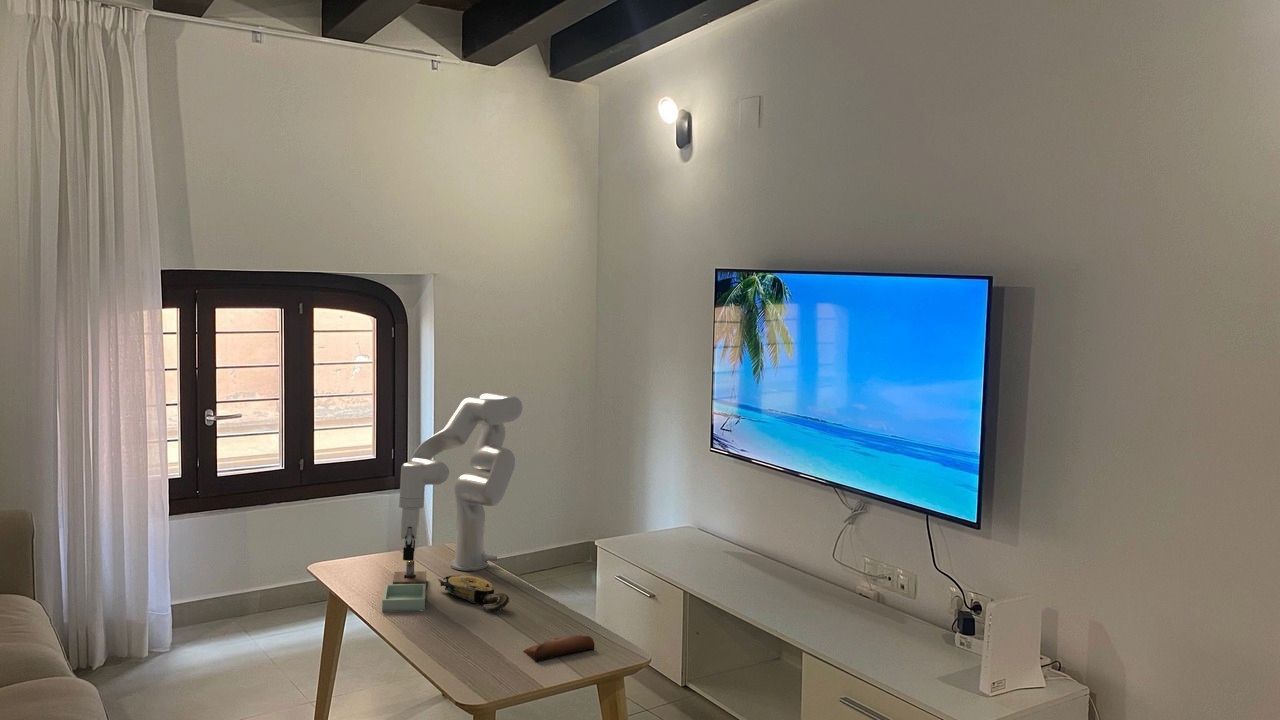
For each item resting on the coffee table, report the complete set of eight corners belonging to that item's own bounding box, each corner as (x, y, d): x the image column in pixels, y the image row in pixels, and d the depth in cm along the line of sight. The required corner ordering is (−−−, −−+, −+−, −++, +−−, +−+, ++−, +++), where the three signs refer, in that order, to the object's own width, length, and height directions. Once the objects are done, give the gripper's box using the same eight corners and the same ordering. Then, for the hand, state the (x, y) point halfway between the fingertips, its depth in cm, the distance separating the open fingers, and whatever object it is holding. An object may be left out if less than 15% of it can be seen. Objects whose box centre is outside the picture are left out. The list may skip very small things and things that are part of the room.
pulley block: (482, 597, 275) (437, 569, 299) (479, 616, 275) (433, 587, 298) (524, 596, 284) (476, 569, 307) (520, 615, 283) (473, 587, 307)
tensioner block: (426, 580, 307) (426, 571, 306) (425, 590, 297) (425, 581, 297) (394, 580, 304) (394, 571, 304) (392, 591, 295) (392, 581, 294)
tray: (425, 594, 293) (425, 583, 293) (424, 610, 279) (424, 599, 279) (385, 595, 290) (385, 584, 290) (382, 611, 277) (382, 600, 276)
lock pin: (413, 584, 302) (414, 559, 301) (413, 586, 300) (414, 562, 299) (406, 584, 302) (406, 559, 301) (405, 587, 299) (406, 562, 299)
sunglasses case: (578, 639, 263) (585, 623, 260) (589, 659, 258) (597, 643, 255) (520, 651, 253) (527, 634, 249) (530, 672, 248) (538, 656, 245)
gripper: (400, 496, 306) (397, 548, 307) (398, 508, 289) (395, 563, 290) (424, 496, 307) (421, 548, 308) (423, 508, 290) (420, 563, 291)
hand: (408, 555), depth 299 cm, fingers open, 9 cm apart
